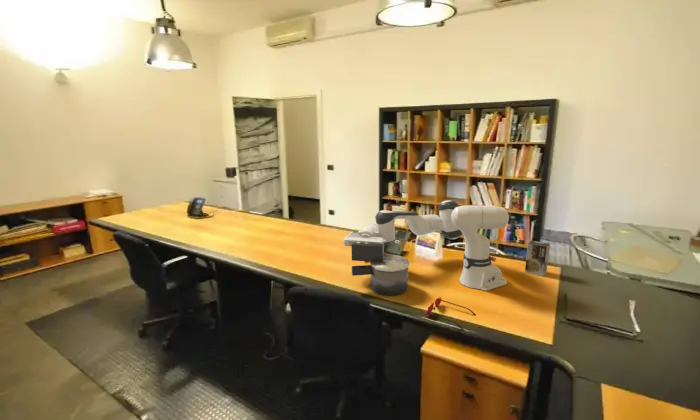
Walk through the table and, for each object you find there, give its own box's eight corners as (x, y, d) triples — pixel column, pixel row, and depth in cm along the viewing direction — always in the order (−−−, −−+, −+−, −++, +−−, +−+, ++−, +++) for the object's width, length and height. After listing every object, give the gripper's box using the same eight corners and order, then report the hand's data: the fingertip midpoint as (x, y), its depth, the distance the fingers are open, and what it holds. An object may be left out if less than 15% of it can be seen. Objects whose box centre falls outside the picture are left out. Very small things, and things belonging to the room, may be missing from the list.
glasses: (438, 304, 152) (439, 293, 151) (476, 316, 142) (477, 305, 141) (424, 318, 141) (425, 307, 140) (464, 332, 131) (465, 320, 130)
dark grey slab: (409, 257, 171) (410, 240, 169) (408, 273, 154) (408, 254, 151) (356, 254, 177) (355, 237, 175) (348, 269, 159) (348, 250, 157)
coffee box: (546, 272, 180) (550, 243, 176) (543, 276, 175) (547, 246, 171) (528, 268, 186) (531, 239, 182) (524, 271, 181) (527, 242, 177)
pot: (402, 277, 177) (402, 256, 174) (412, 294, 160) (413, 270, 157) (350, 281, 174) (349, 259, 171) (354, 298, 157) (354, 274, 154)
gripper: (386, 245, 178) (381, 255, 165) (348, 242, 183) (340, 251, 170) (386, 233, 176) (381, 242, 164) (348, 231, 182) (340, 239, 169)
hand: (360, 247), depth 167 cm, fingers closed
